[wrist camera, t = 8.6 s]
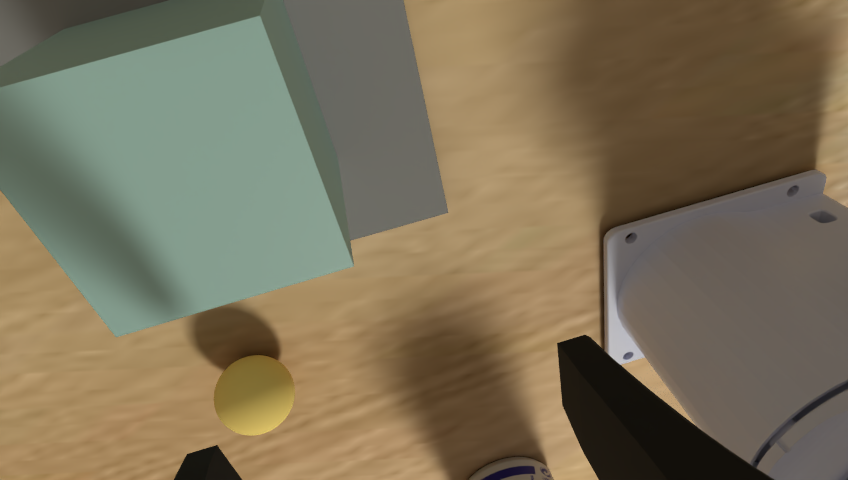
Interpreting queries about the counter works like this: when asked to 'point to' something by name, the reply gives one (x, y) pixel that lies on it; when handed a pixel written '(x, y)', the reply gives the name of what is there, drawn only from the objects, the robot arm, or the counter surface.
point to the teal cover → (174, 159)
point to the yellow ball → (254, 395)
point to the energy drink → (513, 470)
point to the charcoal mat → (320, 95)
